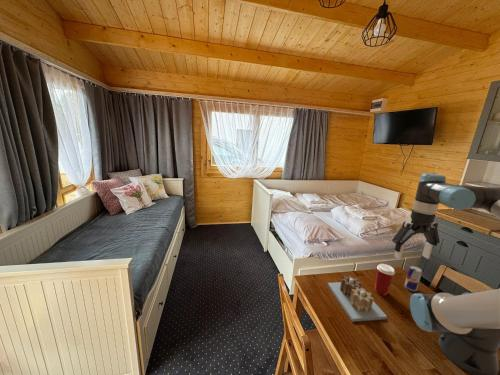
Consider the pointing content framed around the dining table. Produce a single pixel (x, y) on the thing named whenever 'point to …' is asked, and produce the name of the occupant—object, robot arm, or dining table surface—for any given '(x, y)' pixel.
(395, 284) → the dining table surface
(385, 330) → the dining table surface
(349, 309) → the gear board
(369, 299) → the beech gear
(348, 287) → the walnut gear
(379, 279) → the paper cup
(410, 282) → the energy drink
